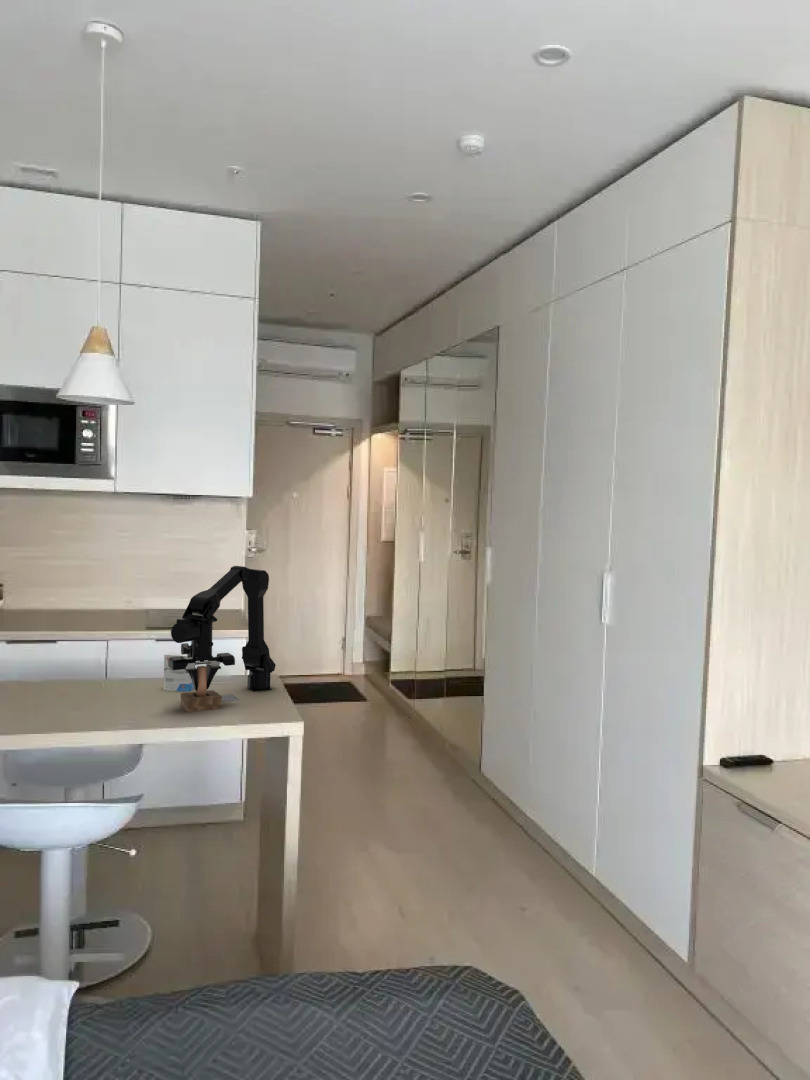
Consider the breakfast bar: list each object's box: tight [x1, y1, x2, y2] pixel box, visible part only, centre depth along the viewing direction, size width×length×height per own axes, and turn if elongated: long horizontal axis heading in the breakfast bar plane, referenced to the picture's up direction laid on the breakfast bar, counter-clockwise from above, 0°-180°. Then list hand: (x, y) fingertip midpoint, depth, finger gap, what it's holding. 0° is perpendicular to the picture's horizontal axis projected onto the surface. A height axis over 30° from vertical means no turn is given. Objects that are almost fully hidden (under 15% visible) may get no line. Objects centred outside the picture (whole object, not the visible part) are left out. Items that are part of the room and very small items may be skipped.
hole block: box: [180, 689, 223, 713], centre depth 250 cm, size 10×8×4 cm
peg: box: [195, 665, 208, 697], centre depth 249 cm, size 3×3×9 cm
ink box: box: [163, 651, 194, 692], centre depth 269 cm, size 8×5×12 cm, turn 84°
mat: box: [220, 693, 241, 703], centre depth 261 cm, size 8×8×1 cm
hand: (201, 689), depth 249 cm, fingers closed on peg, 3 cm apart
